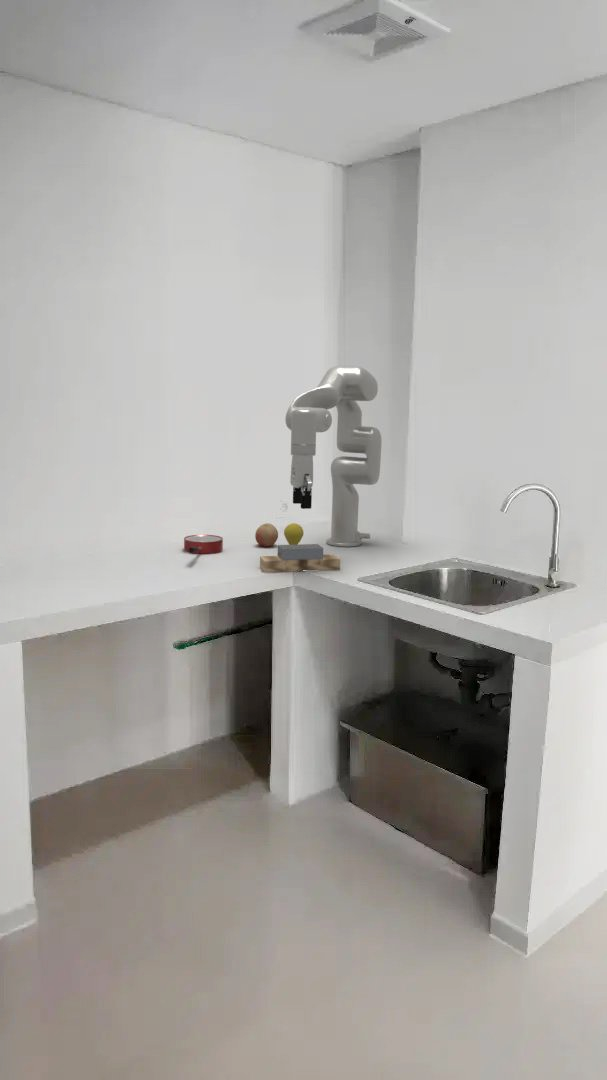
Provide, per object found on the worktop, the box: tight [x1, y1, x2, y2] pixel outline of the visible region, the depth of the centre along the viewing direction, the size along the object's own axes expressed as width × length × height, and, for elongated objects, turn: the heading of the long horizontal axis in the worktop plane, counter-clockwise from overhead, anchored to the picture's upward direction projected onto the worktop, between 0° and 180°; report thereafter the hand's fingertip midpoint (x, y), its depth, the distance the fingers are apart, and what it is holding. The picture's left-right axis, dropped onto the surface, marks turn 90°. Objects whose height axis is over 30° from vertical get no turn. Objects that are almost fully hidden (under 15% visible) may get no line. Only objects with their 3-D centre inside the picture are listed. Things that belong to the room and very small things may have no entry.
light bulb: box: [283, 522, 304, 545], centre depth 271 cm, size 7×7×10 cm
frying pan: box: [183, 534, 224, 555], centre depth 260 cm, size 32×13×6 cm, turn 4°
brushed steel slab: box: [276, 543, 324, 560], centre depth 247 cm, size 13×6×6 cm, turn 105°
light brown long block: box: [259, 553, 341, 573], centre depth 247 cm, size 24×7×4 cm, turn 105°
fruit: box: [254, 522, 279, 548], centre depth 279 cm, size 8×8×8 cm
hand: (301, 505), depth 244 cm, fingers open, 9 cm apart
